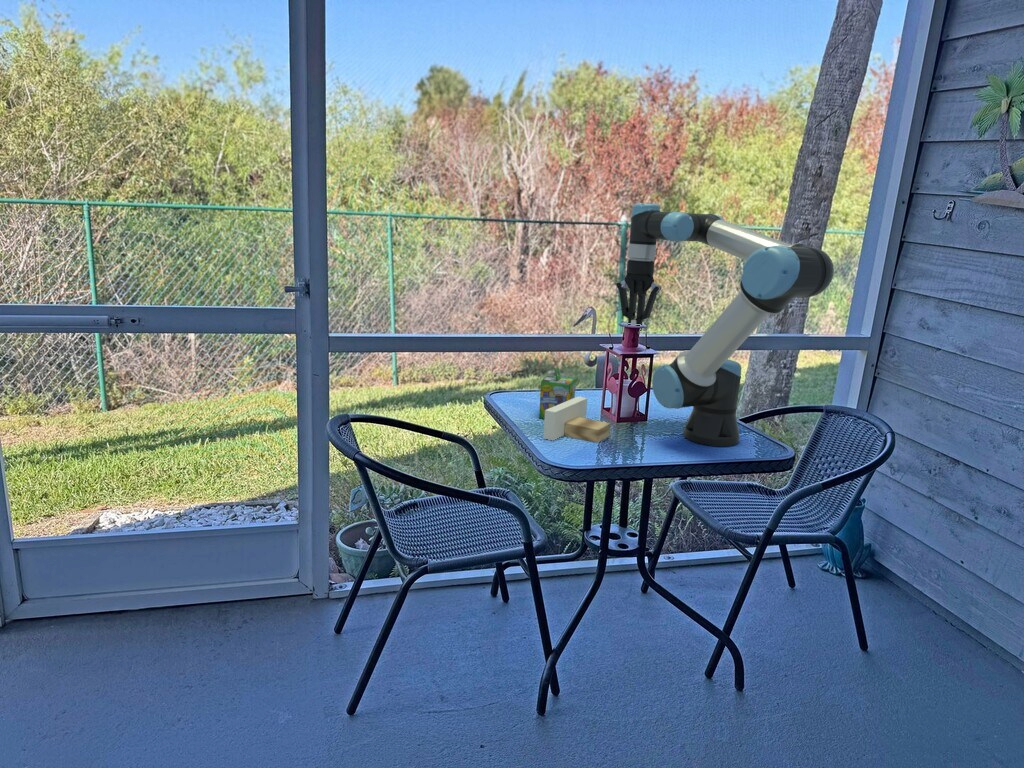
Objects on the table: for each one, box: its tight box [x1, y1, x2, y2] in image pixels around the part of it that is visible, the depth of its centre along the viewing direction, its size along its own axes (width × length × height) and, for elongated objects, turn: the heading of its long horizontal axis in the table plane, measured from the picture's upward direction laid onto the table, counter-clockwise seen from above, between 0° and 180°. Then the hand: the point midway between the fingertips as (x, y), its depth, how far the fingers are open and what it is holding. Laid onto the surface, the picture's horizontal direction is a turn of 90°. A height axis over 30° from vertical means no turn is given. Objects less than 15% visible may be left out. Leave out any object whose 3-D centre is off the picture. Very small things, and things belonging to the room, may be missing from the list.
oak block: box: [564, 417, 611, 444], centre depth 203 cm, size 10×8×4 cm
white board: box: [542, 396, 588, 442], centre depth 205 cm, size 3×20×8 cm, turn 149°
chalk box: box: [538, 366, 577, 420], centre depth 219 cm, size 9×9×15 cm
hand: (633, 342), depth 213 cm, fingers closed
